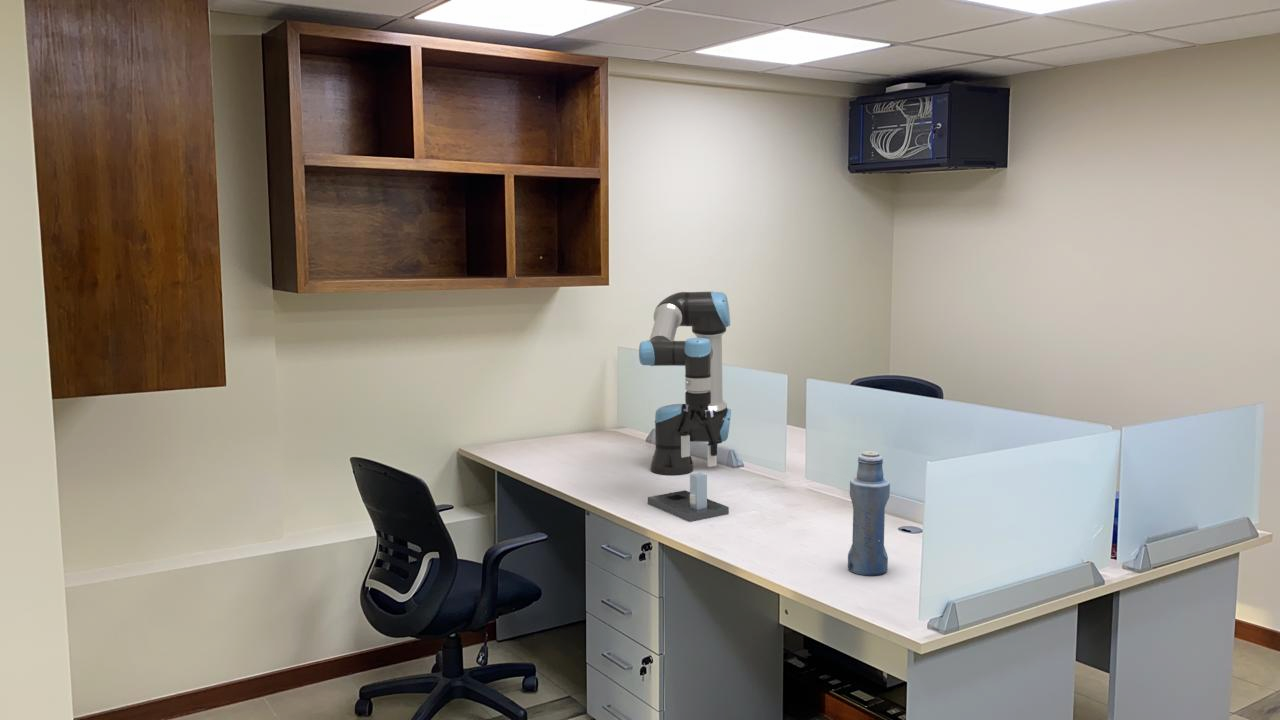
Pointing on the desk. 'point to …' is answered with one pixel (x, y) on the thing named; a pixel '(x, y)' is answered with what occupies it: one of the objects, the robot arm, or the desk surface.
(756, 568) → the desk surface
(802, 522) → the desk surface
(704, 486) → the pale blue rectangular prism
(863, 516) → the bottle
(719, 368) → the robot arm
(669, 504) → the dark grey base plate
